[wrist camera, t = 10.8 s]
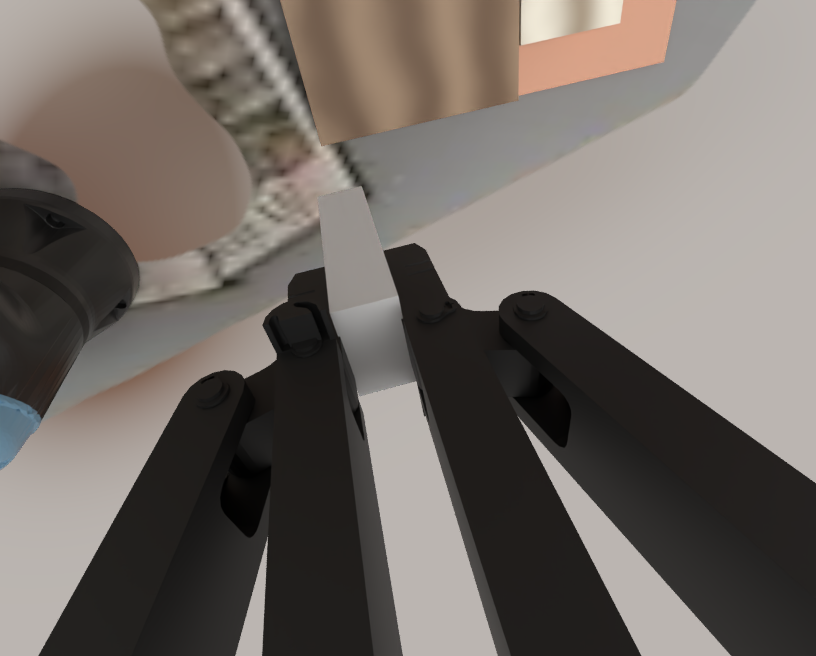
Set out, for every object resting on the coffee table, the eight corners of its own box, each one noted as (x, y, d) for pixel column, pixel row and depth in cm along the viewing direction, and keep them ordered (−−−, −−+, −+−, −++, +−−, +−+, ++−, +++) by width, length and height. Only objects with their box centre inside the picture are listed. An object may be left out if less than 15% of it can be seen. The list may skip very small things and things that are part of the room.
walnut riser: (319, 134, 40) (321, 146, 37) (263, -67, 31) (259, -74, 28) (501, 92, 41) (518, 100, 38) (499, -115, 32) (520, -126, 29)
